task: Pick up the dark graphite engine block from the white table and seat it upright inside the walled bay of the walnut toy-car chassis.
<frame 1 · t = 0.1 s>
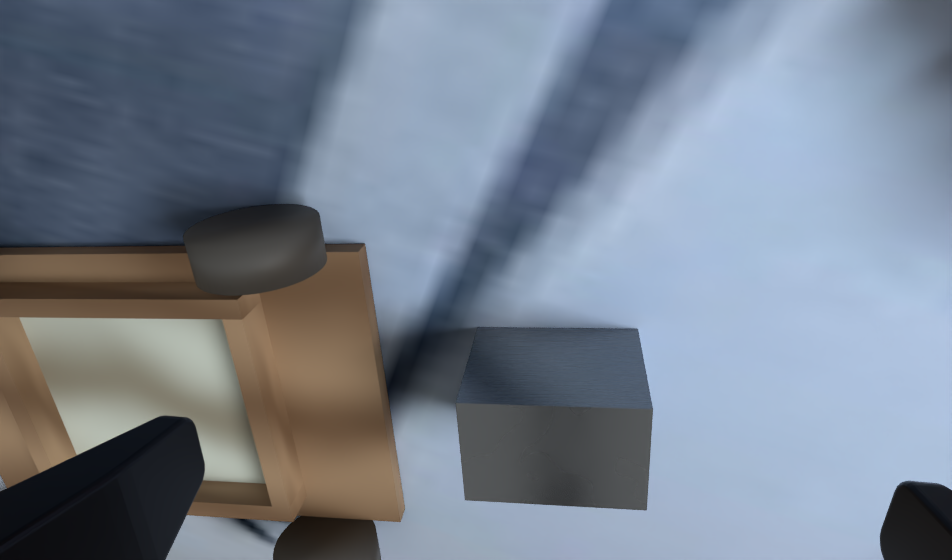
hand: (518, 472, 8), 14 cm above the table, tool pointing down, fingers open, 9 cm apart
engine block: (556, 371, 24), on the table
chassis: (168, 383, 27), on the table
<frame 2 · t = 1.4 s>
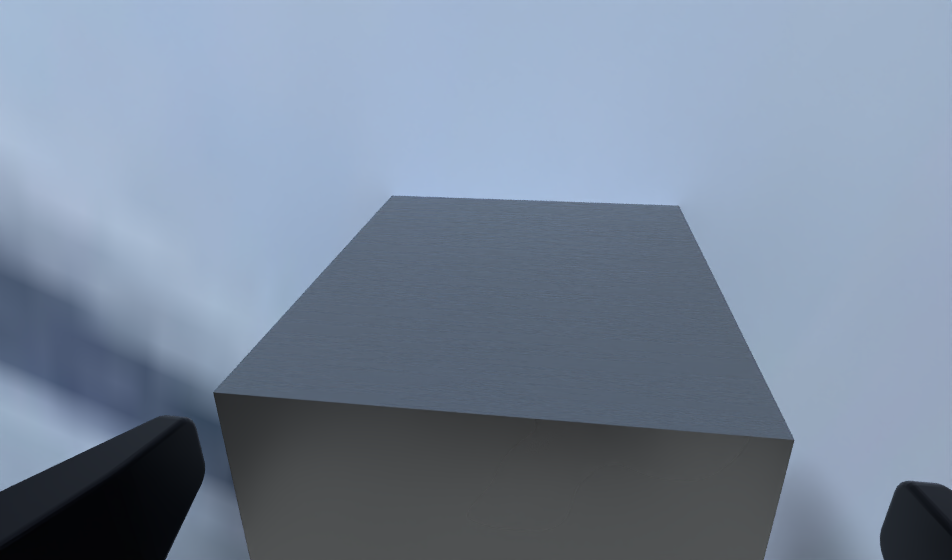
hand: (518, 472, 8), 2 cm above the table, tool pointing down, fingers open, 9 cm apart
engine block: (525, 378, 10), on the table
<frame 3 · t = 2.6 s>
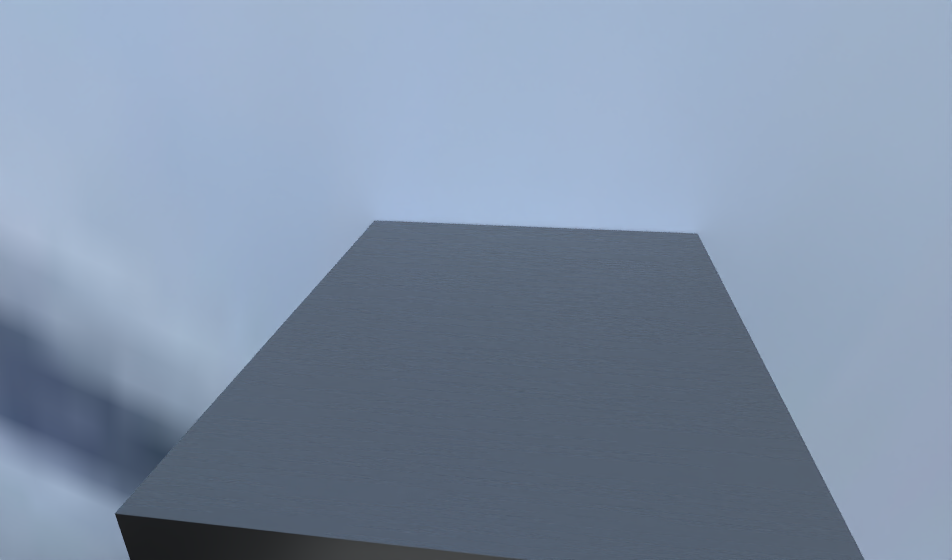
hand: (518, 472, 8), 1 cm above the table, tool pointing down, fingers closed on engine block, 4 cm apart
engine block: (524, 423, 9), on the table, touching gripper
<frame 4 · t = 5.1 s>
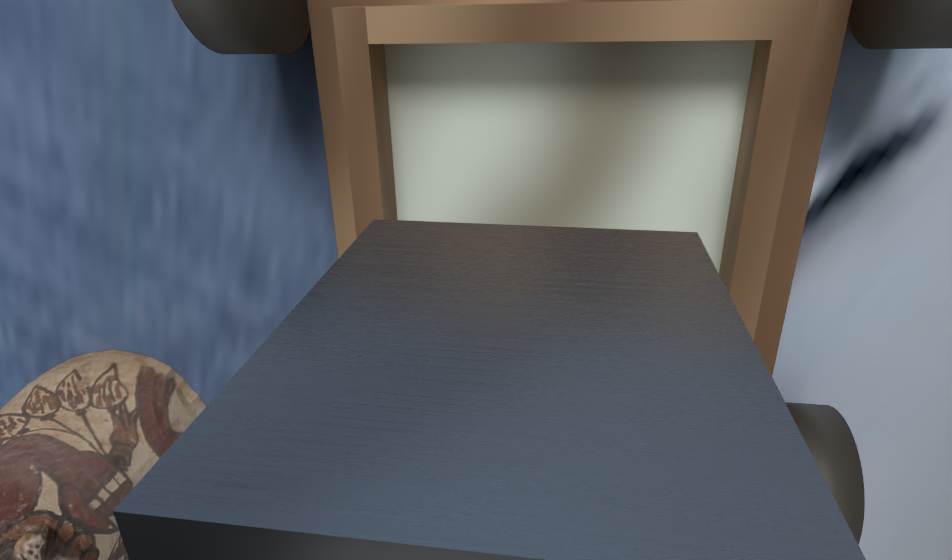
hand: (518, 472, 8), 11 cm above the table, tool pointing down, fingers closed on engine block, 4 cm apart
engine block: (524, 422, 9), point 10 cm above the table, touching gripper
figurine: (138, 422, 24), on the table
chassis: (556, 219, 18), on the table
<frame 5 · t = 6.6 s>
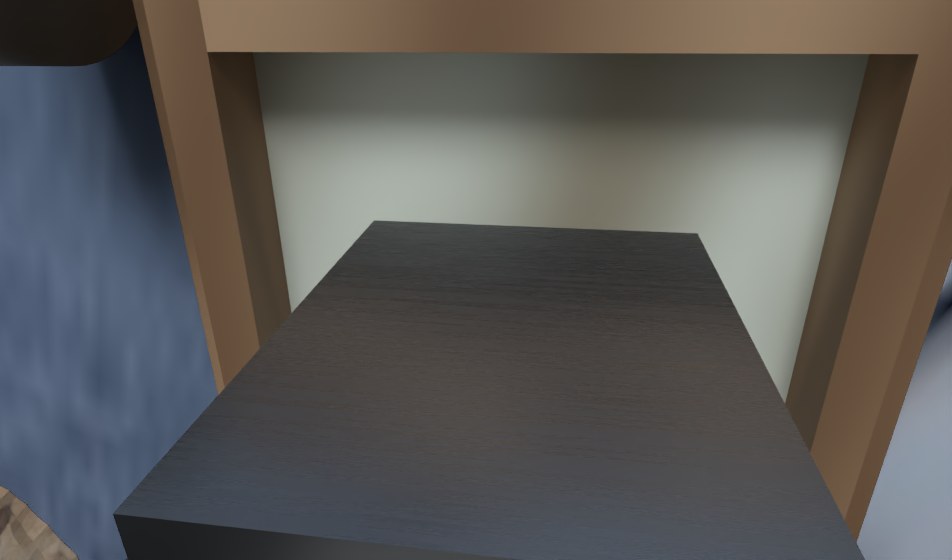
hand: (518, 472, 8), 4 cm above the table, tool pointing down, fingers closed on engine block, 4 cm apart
engine block: (524, 423, 9), point 3 cm above the table, touching gripper
chassis: (534, 316, 12), on the table
when the fingers open (3 cm above the table, at t = 7.6 s): engine block drops 1 cm, resting on chassis.
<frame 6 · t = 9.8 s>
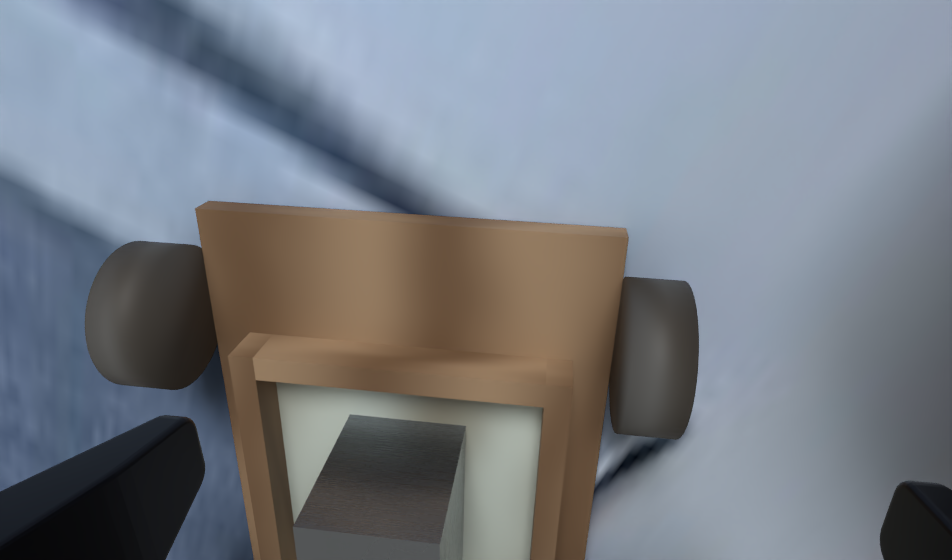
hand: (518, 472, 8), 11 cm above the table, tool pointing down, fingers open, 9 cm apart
engine block: (408, 488, 22), point 1 cm above the table, touching chassis
chassis: (414, 470, 23), on the table
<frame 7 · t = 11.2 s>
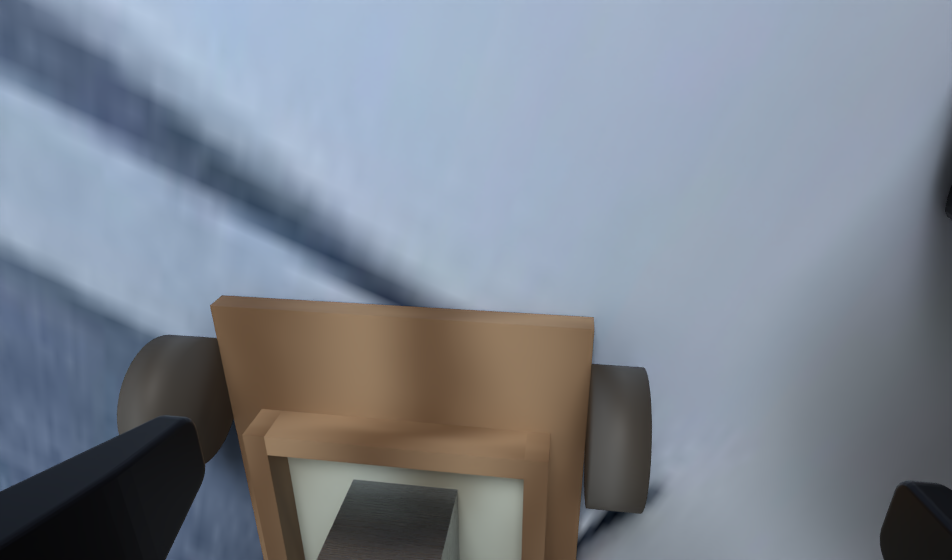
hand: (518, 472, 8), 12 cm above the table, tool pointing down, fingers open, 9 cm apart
engine block: (409, 543, 24), point 1 cm above the table, touching chassis
chassis: (414, 524, 25), on the table
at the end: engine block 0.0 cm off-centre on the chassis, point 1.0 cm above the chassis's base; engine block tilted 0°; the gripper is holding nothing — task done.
